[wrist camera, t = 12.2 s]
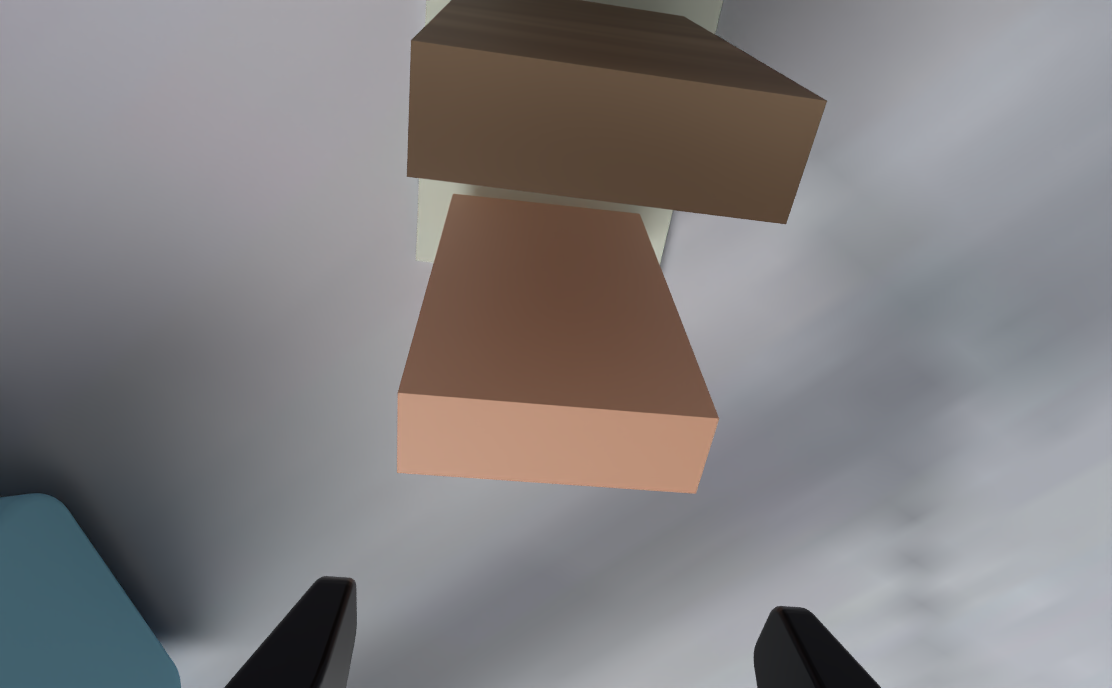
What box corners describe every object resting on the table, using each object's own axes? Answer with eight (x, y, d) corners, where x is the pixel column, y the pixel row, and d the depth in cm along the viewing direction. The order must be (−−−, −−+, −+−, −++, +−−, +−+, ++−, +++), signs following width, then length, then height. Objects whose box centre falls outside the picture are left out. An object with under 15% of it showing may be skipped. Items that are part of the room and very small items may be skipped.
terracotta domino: (628, 267, 19) (696, 493, 12) (450, 249, 19) (396, 472, 11) (639, 213, 19) (718, 418, 11) (452, 193, 18) (398, 393, 10)
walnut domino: (468, -17, 16) (410, 40, 8) (683, 15, 16) (827, 101, 8) (463, 57, 16) (406, 177, 9) (668, 87, 17) (785, 224, 9)
